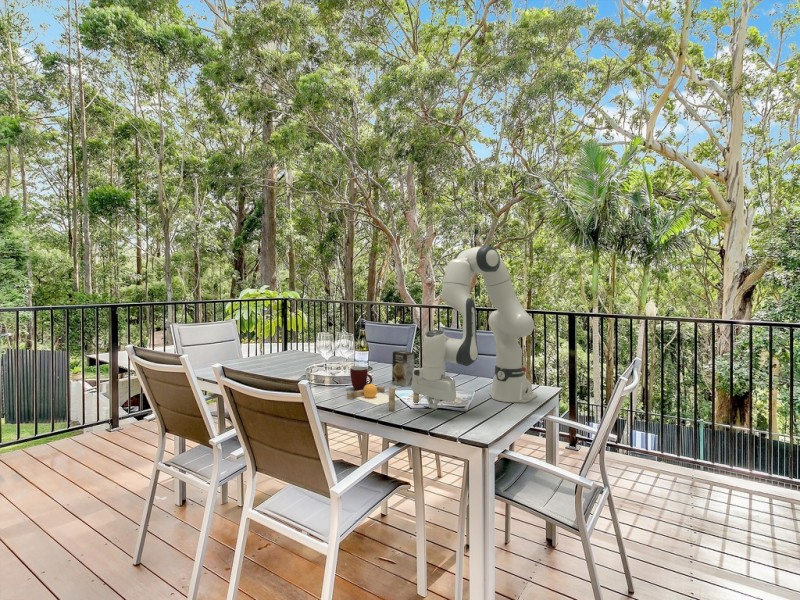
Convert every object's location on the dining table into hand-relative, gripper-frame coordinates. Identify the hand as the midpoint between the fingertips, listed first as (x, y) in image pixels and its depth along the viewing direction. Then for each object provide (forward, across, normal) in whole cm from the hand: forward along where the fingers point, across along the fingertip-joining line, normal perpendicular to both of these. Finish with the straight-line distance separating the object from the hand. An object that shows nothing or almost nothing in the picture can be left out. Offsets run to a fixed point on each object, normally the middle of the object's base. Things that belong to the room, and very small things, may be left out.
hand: (433, 408), depth 178 cm
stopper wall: (+2, +38, +2) cm, 38 cm away
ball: (-1, +34, +3) cm, 34 cm away
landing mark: (+2, +30, +2) cm, 30 cm away
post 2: (+2, +14, -5) cm, 15 cm away
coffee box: (+3, +42, -25) cm, 49 cm away
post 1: (+2, +14, +8) cm, 17 cm away
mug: (+2, +47, -3) cm, 47 cm away
